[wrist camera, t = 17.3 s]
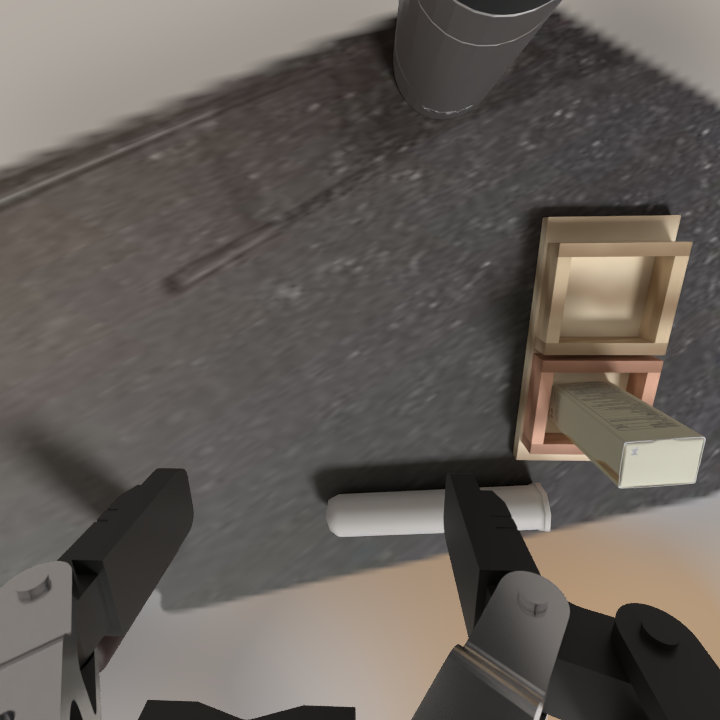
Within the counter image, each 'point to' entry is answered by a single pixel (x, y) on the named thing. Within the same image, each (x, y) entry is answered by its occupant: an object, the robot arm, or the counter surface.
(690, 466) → the skincare box
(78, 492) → the counter surface
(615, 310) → the two-compartment wooden tray
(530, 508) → the tube
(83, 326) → the counter surface
